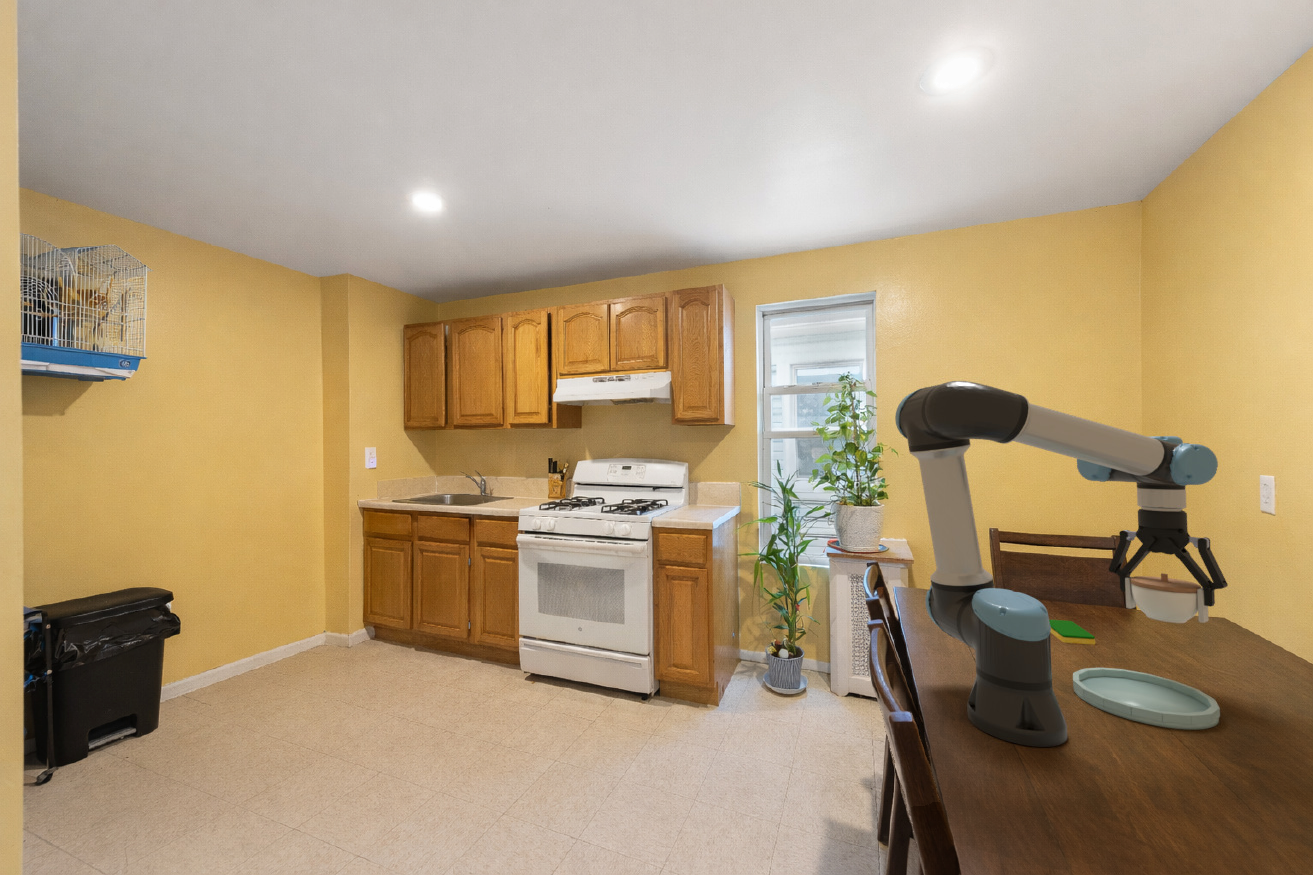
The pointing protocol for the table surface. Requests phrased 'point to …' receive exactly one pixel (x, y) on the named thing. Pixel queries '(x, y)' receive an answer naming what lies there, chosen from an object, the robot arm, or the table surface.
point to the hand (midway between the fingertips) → (1165, 614)
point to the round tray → (1146, 698)
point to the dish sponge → (1070, 632)
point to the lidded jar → (1165, 598)
